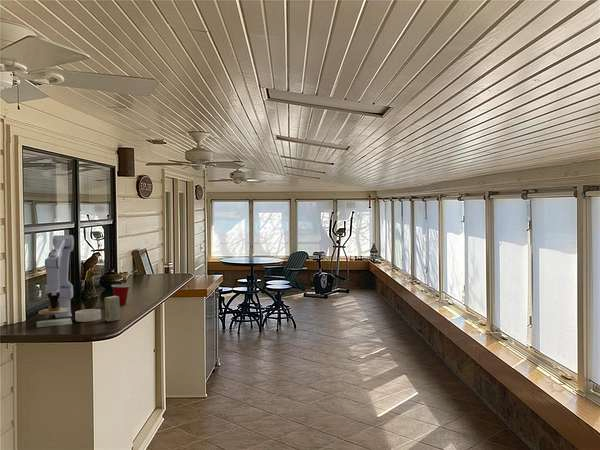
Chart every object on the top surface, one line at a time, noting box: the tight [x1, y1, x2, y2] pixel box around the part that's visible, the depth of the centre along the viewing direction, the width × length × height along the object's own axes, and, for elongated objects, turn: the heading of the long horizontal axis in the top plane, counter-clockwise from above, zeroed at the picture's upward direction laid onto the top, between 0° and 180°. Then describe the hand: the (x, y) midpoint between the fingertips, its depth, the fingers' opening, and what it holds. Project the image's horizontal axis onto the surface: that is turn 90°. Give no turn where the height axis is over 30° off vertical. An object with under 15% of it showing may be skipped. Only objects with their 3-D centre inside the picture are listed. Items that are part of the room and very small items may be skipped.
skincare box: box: [104, 295, 121, 322], centre depth 271 cm, size 6×4×12 cm
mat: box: [36, 317, 73, 328], centre depth 266 cm, size 16×16×1 cm
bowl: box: [74, 308, 102, 323], centre depth 273 cm, size 12×12×4 cm
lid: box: [38, 300, 69, 316], centre depth 266 cm, size 14×14×6 cm
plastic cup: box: [111, 284, 131, 306], centre depth 318 cm, size 11×11×12 cm
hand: (54, 307), depth 266 cm, fingers closed on lid, 3 cm apart
